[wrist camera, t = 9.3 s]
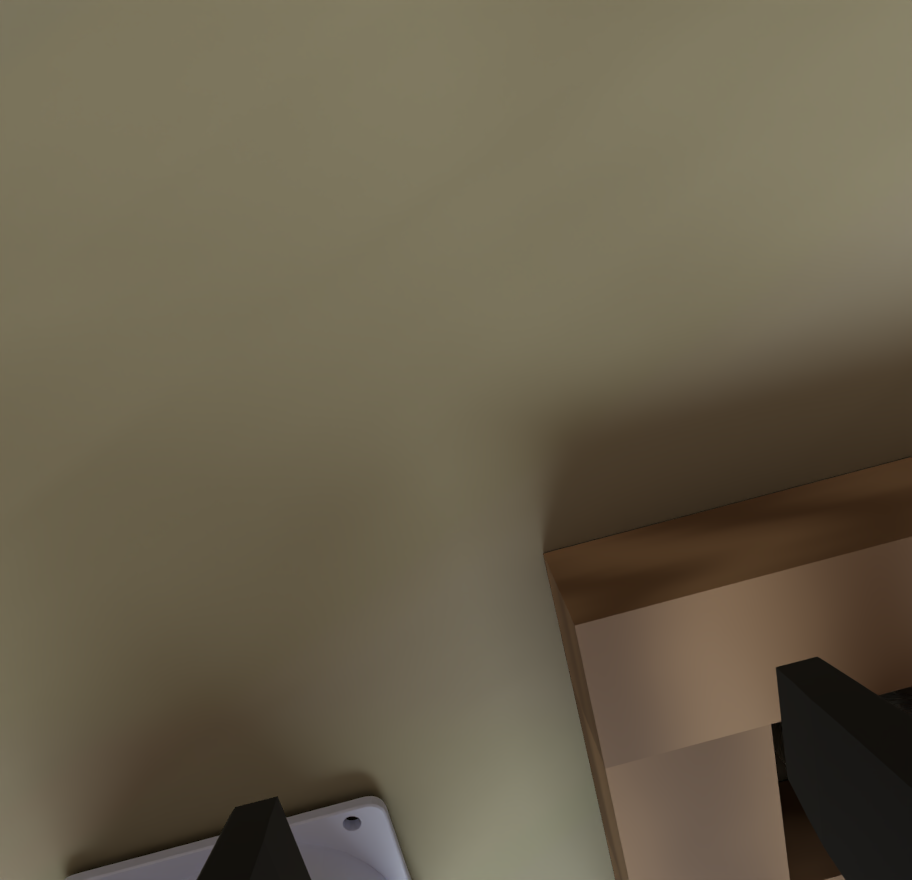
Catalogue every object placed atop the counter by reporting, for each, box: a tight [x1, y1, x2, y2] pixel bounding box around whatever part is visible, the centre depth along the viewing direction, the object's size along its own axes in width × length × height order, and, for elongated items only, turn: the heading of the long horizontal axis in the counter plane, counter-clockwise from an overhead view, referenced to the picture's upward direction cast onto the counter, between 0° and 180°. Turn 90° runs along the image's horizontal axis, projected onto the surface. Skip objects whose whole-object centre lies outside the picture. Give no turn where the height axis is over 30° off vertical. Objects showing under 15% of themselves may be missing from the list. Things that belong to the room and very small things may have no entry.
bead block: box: [543, 457, 912, 880], centre depth 24 cm, size 14×14×4 cm
